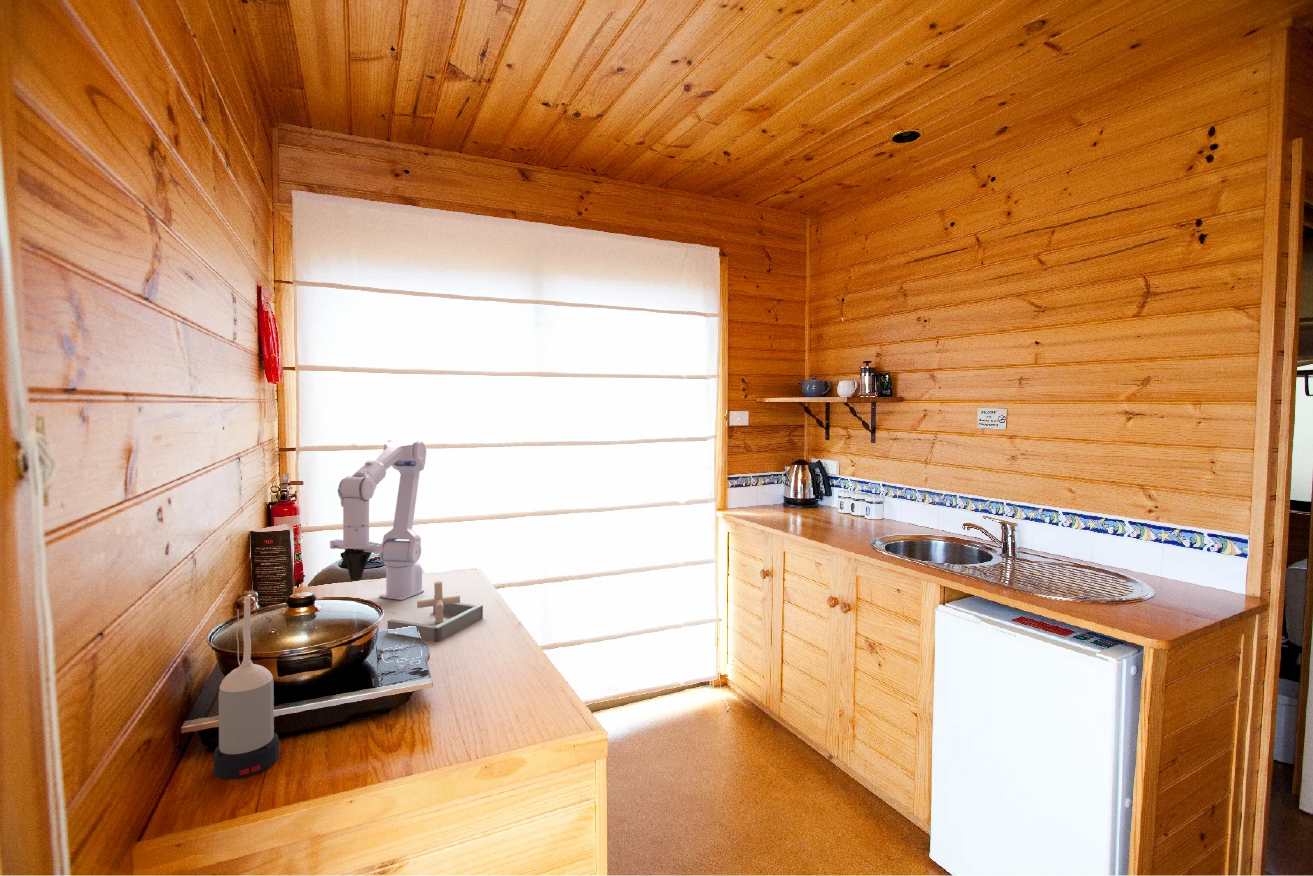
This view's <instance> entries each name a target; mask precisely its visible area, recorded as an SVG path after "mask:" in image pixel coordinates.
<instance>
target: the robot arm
mask: <svg viewBox="0 0 1313 876" xmlns="http://www.w3.org/2000/svg"><path fill="white" fill-rule="evenodd" d="M426 458H427V448H426V445H425V443H424V441H423V440H421V439H416V440H412V439H411V440H410V439H409V440H407V439H392V438H391V439H388V440H387V441H386V442H385V443H384V444H383V451H382V452H381V454H380V455H379V456H378V457H377V458H376V459H375V460H367V461H366V462H365V464H364V465H363V466H361V467H360V468H359V469H358V470H357V471H355V473H354V474H352V475H351V476H346V477H344V478H342V479H341V480H340V482H339V485H338V487H337V494H338V497H339V499H340V505H341V507H342V508H343V509H342V512H343V513H342V515H343V516H342V517H343V519H342V522H343V523H342V526H343V528H342V530H343V531H342V534H343V537H342V538H343V539H334V540H330V541H329V547H330V548H329V549H332V550H335V549H339V550H344V551H343V552H341V553H340V557H341V559H342V560H343V562H344V563H345V564H344V565H345V566H346V568H347V571H348V575H349V578H350V581H353V582H357V581H359V580H362V577H363V573H364V570H365V567H366V565H367V563H368V560H369V558H370V556H371V555H372V553H373V554H374V555H378V556H379V559H380V561H381V562H383V566H386V568H385V569H386V570H385V571H386V575H385V576H386V578H385V579H386V580H385V581H386V582H385V583H386V584H385V586H386V587H385V590H386V591H385V592H384V593H381V594H378V597H379V598H384V599H389V600H390V599H391V600H398V601H403V600H405V599H408V598H411V597H414V596H415V595H419V594H421V593H423V592H424V591H425V589H424V588H423V569H422V566H421V564H420V563H419V562H418V561H419V559H420V558H421V555H422V544H421V541H422V540H421V539H422V538H421V537H420V535H419V534H418V533H416V531H415V530H413V526H414V518H415V517H414V516H415V511H416V502H417V497H418V496H417V495H418V487H419V482H420V481H419V479H420V473H421V471H424V469H425V465H426ZM390 467H392V468H393V470H396V471H398V472H399V474H400V476H399V484H398V491H397V496H396V497H397V498H396V505H395V511H394V518H393V519H394V520H393V526H392V527H393V528H392V529H391V530H389V531H388V532H387V533H385V534H383V537H382V542H381V543H376V542H374V541H373V542H372V541H370V500H371V499H372V497H373V496H374V493H375V490H376V489H377V486H378V484H379V483H380V482H381V481H382V480H384V478H386V475H387V470H388V469H389V468H390Z"/></svg>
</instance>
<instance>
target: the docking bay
mask: <svg viewBox="0 0 1313 876" xmlns="http://www.w3.org/2000/svg"><path fill="white" fill-rule="evenodd" d="M443 606H444V610H443V615H449V616H452V617H451V618H449V619H447V620H445V621H444V620H443V622H442V623H437V625H431V624H425V623H424V624H423V623H418V622H412V621H406V620H399V619H393V618H391V619H388V620H387V630H388V629H396V628H402V627H408V626H416V627H417V629H418V631H419V633H420V636H421V638H422V639H421V640H425V641H430V642H431V641H432V642H437V643H438V642H440V641H443V640H444V639H446V638H448V637H450V636H452V635H453V634H455V633H457V632H459V631H460V630H462V629H464V628H467V627H468V626H470V625H472V624H474V623H476V622H478V621H480V620H481V619H483V618H484V613H483V612H484V605H483V604H470V603H465V602H464V603H463V602H460V603H454V604H446V605H443ZM432 612H433V613H435V606H432Z"/></svg>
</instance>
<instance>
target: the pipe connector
mask: <svg viewBox="0 0 1313 876" xmlns="http://www.w3.org/2000/svg"><path fill="white" fill-rule="evenodd" d="M433 584H434V594H433V598H429V599H421V600H416V605H417V606H416V607H417V609H422V608H428V607H433V606H435V612H434V614H435V615H434V617H435V618H434V619H435V624H440V623H442V622H444V614H443V610H444V606H443V605H446V604H454V603H461V597H460V595H454V596H453V595H452V596H445V597H444V596H443V581H441V580H439V581H435V582H434V583H433Z"/></svg>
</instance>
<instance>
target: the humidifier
mask: <svg viewBox="0 0 1313 876" xmlns="http://www.w3.org/2000/svg"><path fill="white" fill-rule="evenodd" d="M243 599H244V600H243V603H244V604H243V624H242V625H243V626H242V639H243V657H242V661H241V663H240V651H239V650H240V649H239V648H240V647H239V637H238V636H239V635H238V631H239V627H240V618H239V610H237V624H238V625H237V630H236V640H237V663H238V665H239V666H238V667H236V668H234V669H233V670H231V671H230V672H229V673H228V674H227V675H226V676H225V677H224V678H223V679H222V680H221V683H220V685H219V691H218V746H216V748H215V749H214V753H213V758H212V764H213V765H212V767H213V769H212V770H213V775H214V776H215V777H217V779H221V780H230V781H231V780H240V779H243V778H248V777H251V776H254V775H256V774H257V775H258V774H259V773H262V772H265V771H266V770H268V769H269V768H271V767H273V766H274V765H275V764H277V762H278V760H279V759H280V740H279V735H278V734H277V733H276V732H274V731H275V725H274V723H275V722H274V721H275V716H274V715H275V712H274V711H275V710H274V708H275V705H274V704H275V703H274V702H275V696H274V690H275V689H274V686H275V685H274V681H275V680H274V675H273V674H272V673H271V671H270V670H269V669H268V668H266V667H264V666H263V665H260V664H255V663H253V661H252V659H251V655H252V641H251V640H252V639H251V631H250V630H251V597H250V595H249V596H244V597H243Z"/></svg>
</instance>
